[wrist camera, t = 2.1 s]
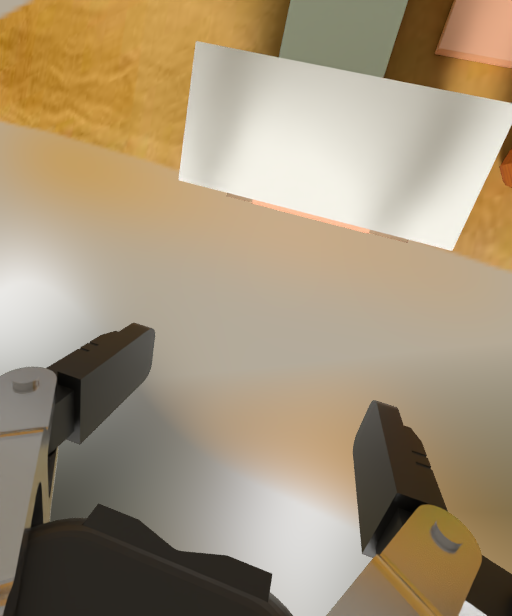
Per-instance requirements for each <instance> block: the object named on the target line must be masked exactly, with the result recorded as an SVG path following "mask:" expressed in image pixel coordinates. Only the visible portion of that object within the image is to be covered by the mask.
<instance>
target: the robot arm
mask: <svg viewBox="0 0 512 616" xmlns="http://www.w3.org/2000/svg"><path fill="white" fill-rule="evenodd" d="M154 340H155V331H154V329H152V328H149V327H146V326H143V325H140V324H136V323H132V324H130V325H129V326H127V327H125V328H124V329H122V330H121V331H119V332H117V331H114V332H110V333H107V334H103V335H100V336H99V337H97V338H95V339H94V340H92V341H90V343H87V344H86V345H84V346H82V347H81V348H80V349H77V350H76V351H74V352H72V353H71V354H69V355H67V356H66V357H64V358H63V359H61V360H59V361H57V362H56V363H54V364H53V365H51V366H49V367H47V368H42V367H24V368H19V369H15V370H12V371H9V372H7V373H5V374H3V375H1V376H0V616H293V615H292V614H291V613H290V611H289V610H288V609H287V608H286V607H285V606H284V605H283V604H282V603H281V602H280V601H279V600H278V599H277V598H276V597H275V596H274V595H273V594H271V593H270V586H271V579H272V574H271V573H269V572H266V571H264V570H261V569H259V568H257V567H254V566H252V565H249V564H247V563H244V562H241V561H239V560H237V559H234V558H232V557H229V556H225V555H215V554H205V553H195V552H184V551H178V550H176V549H174V548H172V547H171V546H170V545H169V544H168V543H166V542H165V541H164V540H163V539H161V538H160V537H159V536H158V535H157V534H155V533H154V532H153V531H152V530H151V529H149V528H148V527H147V526H146V525H144V524H143V523H142V522H141V521H140V520H138V519H135V518H133V517H130V516H128V515H126V514H123V513H121V512H118V511H116V510H113V509H111V508H108V507H106V506H103V505H101V504H98V505H97V506H96V507H95V509H94V510H93V512H92V513H91V514H90V515H89V517H88V518H68V519H61V520H55V521H52V522H50V511H51V503H52V496H53V488H54V481H55V473H56V465H57V458H58V446H59V445H60V444H61V443H62V442H63V441H64V440H66V439H67V440H69V441H72V442H74V443H77V444H81V443H82V442H83V441H84V440H85V439H86V438H87V437H88V436H89V435H90V434H91V433H92V432H93V431H94V430H95V429H96V428H97V427H98V426H99V425H100V424H101V423H102V422H103V421H104V420H105V419H106V418H107V417H108V416H109V415H110V414H111V413H112V412H113V411H114V410H115V409H116V408H117V407H118V406H119V405H120V404H121V403H122V402H123V401H124V400H125V399H126V398H127V397H128V396H129V395H130V394H131V393H132V392H133V391H134V390H135V389H136V388H138V387H139V385H140V384H142V383H143V381H144V380H145V379H146V377H147V376H148V374H149V372H150V369H151V365H152V356H153V348H154ZM426 456H427V455H426V452H425V450H424V447H423V444H422V442H421V440H420V439H419V438H418V437H417V435H416V434H415V433H414V432H413V430H412V429H411V428H409V427H406V426H403V422H402V420H401V417H400V413H399V410H398V408H397V407H394V406H391V405H388V404H385V403H382V402H378V401H374V400H373V401H372V402H371V404H370V406H369V408H368V410H367V412H366V414H365V417H364V419H363V421H362V423H361V425H360V428H359V430H358V432H357V435H356V437H355V441H354V446H353V459H354V469H355V481H356V492H357V503H358V513H359V524H360V534H361V535H360V536H361V546H362V554H364V555H366V556H369V557H372V558H373V559H372V560H371V561H370V563H369V564H368V565H367V566H366V568H365V569H364V570H363V571H362V573H361V574H360V575H359V576H358V577H357V579H356V580H355V581H354V582H353V584H352V585H351V586H350V587H349V588H348V590H347V591H346V592H345V593H344V595H343V596H342V597H341V598H340V600H339V601H338V602H337V603H336V604H335V606H334V607H333V608H332V609H331V611H330V612H329V613H328V614H327V615H326V616H512V574H511V573H509V572H507V571H506V570H504V569H503V568H501V567H500V566H498V565H496V564H495V563H493V562H492V561H490V560H489V559H487V558H486V557H484V556H483V555H482V554H481V550H480V548H479V545H478V543H477V542H476V539H475V538H474V536H473V535H472V534H471V532H470V531H469V530H468V529H467V527H466V526H465V525H464V524H463V523H462V522H461V521H460V520H458V519H457V518H456V517H455V516H453V515H452V514H450V513H449V512H448V511H447V508H446V506H445V503H444V500H443V498H442V495H441V492H440V490H439V487H438V484H437V482H436V479H435V476H434V474H433V471H432V470H431V466H430V463H429V461H428V458H426Z"/></svg>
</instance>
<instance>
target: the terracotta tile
mask: <svg viewBox="0 0 512 616" xmlns="http://www.w3.org/2000/svg"><path fill="white" fill-rule="evenodd" d="M435 54H437V55H442V56H448V57H453V58H459V59H464V60H470V61H475V62H481V63H486V64H491V65H497V66H502V67H508V68H512V0H454V1H453V4H452V7H451V10H450V13H449V15H448V18H447V21H446V24H445V26H444V29H443V32H442V35H441V37H440V40H439V43H438V46H437V48H436V51H435Z"/></svg>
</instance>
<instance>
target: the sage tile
mask: <svg viewBox="0 0 512 616" xmlns="http://www.w3.org/2000/svg"><path fill="white" fill-rule="evenodd" d="M407 2H408V0H291V1H290V6H289V10H288V15H287V20H286V25H285V29H284V34H283V39H282V44H281V48H280V53H279V58H284V59H289V60H294V61H299V62H304V63H310V64H315V65H320V66H325V67H330V68H335V69H340V70H345V71H350V72H355V73H360V74H365V75H371V76H376V77H381V78H383V77H384V74H385V71H386V68H387V65H388V62H389V59H390V55H391V52H392V49H393V46H394V43H395V40H396V37H397V34H398V30H399V27H400V24H401V21H402V18H403V15H404V12H405V9H406V5H407Z"/></svg>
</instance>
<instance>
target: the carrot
mask: <svg viewBox="0 0 512 616" xmlns="http://www.w3.org/2000/svg"><path fill="white" fill-rule="evenodd" d="M500 171H501V175H502V179H503V182H504V183H505V185H507V186H509V187H511V188H512V149H511V150H510V151H509V153H508V154H507V156H506V158H505V159H504V161H503V163H502V164H501V166H500Z"/></svg>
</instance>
